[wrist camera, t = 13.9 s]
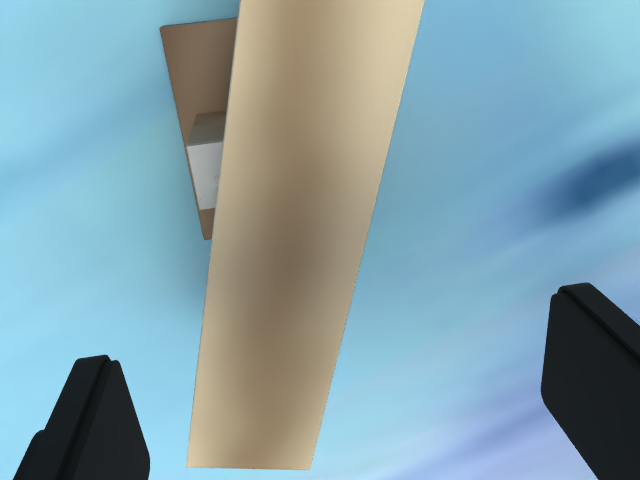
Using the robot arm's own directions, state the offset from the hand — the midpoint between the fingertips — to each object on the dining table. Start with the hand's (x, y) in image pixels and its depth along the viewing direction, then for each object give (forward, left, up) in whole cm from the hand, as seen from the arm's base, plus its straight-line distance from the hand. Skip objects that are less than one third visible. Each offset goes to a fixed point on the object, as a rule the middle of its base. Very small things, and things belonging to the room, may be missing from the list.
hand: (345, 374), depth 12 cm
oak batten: (0, 0, -14) cm, 14 cm away
